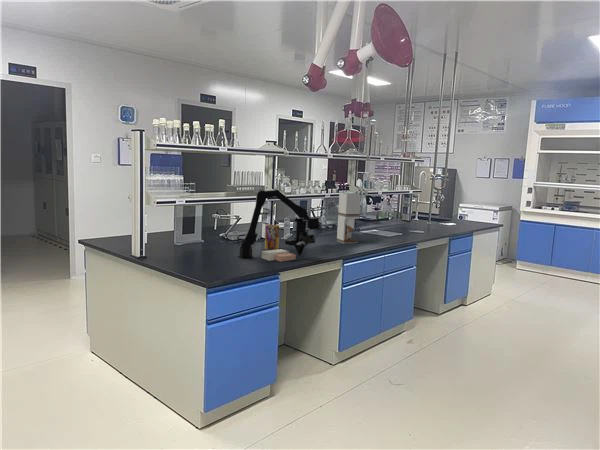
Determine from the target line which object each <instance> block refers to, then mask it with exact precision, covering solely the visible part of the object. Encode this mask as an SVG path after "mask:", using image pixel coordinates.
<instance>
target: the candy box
mask: <svg viewBox="0 0 600 450" xmlns="http://www.w3.org/2000/svg"><path fill="white" fill-rule="evenodd" d="M264 227H265V228H264V231H265V237H264V249H265V250H277V249H279V248H280V225H279V224H266V225H265V226H264Z"/></svg>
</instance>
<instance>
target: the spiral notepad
mask: <svg viewBox="0 0 600 450" xmlns="http://www.w3.org/2000/svg"><path fill="white" fill-rule="evenodd" d="M286 253H290V250H286V249H282V248H280V249H267V250H262V251H261V259H263V260H265V261H269V262H270V261H276V260H275V255H278V254H286Z"/></svg>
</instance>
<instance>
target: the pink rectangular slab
mask: <svg viewBox="0 0 600 450" xmlns="http://www.w3.org/2000/svg"><path fill="white" fill-rule="evenodd" d="M296 257H297V255H296V254H295V253H290V252H289V253H286V254H278V255H275V260H274V261H277V262H279V263H280V262H288V261H293V260H296V259H297V258H296Z"/></svg>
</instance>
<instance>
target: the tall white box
mask: <svg viewBox="0 0 600 450" xmlns="http://www.w3.org/2000/svg"><path fill="white" fill-rule="evenodd" d="M338 196H339V197H338V211H337V212H338V213H337V214H338V215H337V231H336V232H337V233H336V242H337V243H340V244H343V245H349V244H350V245H351V244H358V243H359V240H357V239H356V238H352V232H353V231H354V230H355V228H354V227H355V220H356V219H357V220H359V219H360V217H361V216H360V213H361V199H362V198H361V197H362V194H354V193H352V192H351V193H344V192H343V193H342V192H340V193H339V194H338Z"/></svg>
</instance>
